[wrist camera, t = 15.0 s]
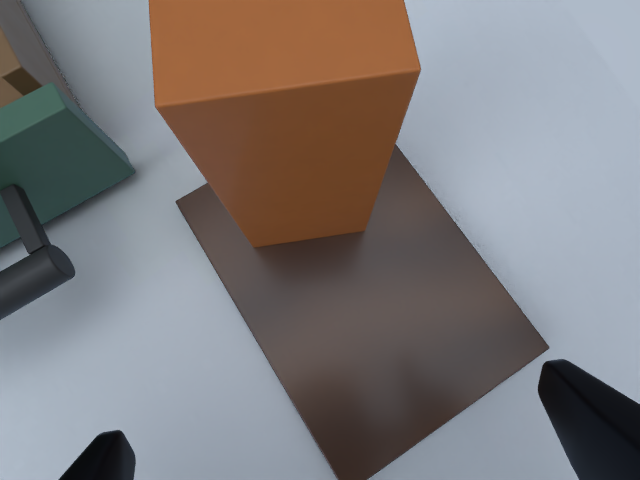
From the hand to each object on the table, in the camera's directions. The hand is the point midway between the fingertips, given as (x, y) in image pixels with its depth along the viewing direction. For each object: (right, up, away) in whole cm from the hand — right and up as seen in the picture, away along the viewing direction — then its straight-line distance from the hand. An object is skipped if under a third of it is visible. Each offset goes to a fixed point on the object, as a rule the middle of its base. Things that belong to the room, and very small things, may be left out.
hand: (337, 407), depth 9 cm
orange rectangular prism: (-1, +6, +10) cm, 11 cm away
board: (+1, +2, +10) cm, 10 cm away
